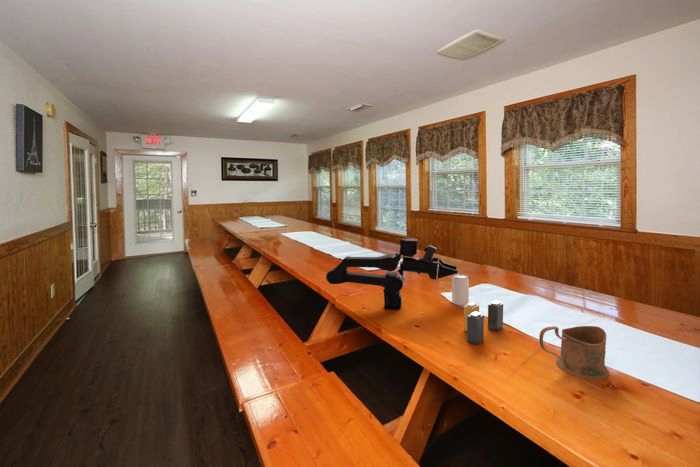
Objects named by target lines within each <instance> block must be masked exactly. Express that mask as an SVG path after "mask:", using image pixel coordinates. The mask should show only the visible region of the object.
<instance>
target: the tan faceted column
mask: <svg viewBox="0 0 700 467" xmlns="http://www.w3.org/2000/svg"><path fill="white" fill-rule="evenodd" d="M473 312H479V313H480V304H478V303H476V302H473V301H471V302H470V301H469V303H468V304H466V305H463V331H465V332H467V316H468V315H470V314H471V313H473Z"/></svg>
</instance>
